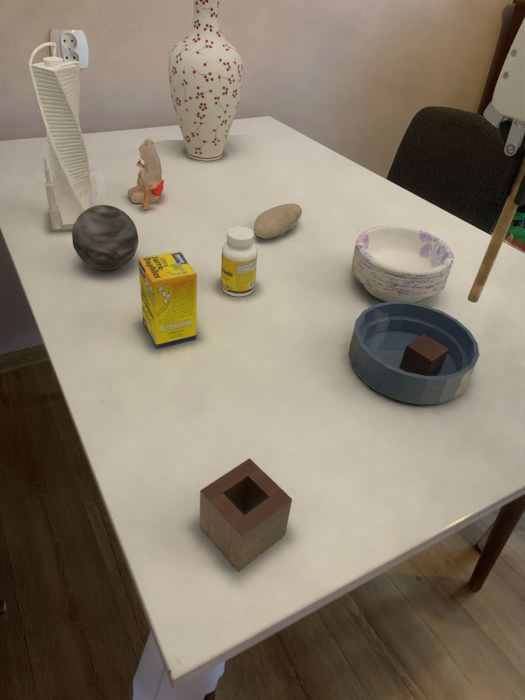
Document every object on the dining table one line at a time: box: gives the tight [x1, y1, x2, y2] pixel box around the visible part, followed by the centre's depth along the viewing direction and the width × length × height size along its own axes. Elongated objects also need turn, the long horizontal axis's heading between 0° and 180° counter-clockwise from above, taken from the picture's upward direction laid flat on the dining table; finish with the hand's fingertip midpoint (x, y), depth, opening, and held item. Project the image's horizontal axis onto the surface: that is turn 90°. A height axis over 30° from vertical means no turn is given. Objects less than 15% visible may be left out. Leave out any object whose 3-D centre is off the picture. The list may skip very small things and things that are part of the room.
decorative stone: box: [71, 204, 139, 271], centre depth 84 cm, size 10×10×10 cm
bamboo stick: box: [467, 156, 525, 304], centre depth 56 cm, size 1×1×18 cm
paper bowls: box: [351, 225, 455, 303], centre depth 86 cm, size 15×15×8 cm
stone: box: [253, 203, 303, 239], centre depth 99 cm, size 6×6×12 cm
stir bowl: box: [348, 301, 480, 405], centre depth 73 cm, size 16×16×5 cm
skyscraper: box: [28, 41, 93, 233], centre depth 89 cm, size 8×8×28 cm
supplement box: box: [137, 250, 198, 350], centre depth 72 cm, size 6×6×11 cm
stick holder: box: [199, 458, 293, 572], centre depth 51 cm, size 6×6×6 cm
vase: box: [167, 0, 244, 162], centre depth 116 cm, size 16×16×35 cm
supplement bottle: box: [220, 225, 258, 297], centre depth 82 cm, size 5×5×10 cm
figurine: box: [126, 138, 165, 211], centre depth 103 cm, size 9×7×12 cm
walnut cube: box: [399, 334, 449, 376], centre depth 72 cm, size 4×4×4 cm
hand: (514, 197), depth 54 cm, fingers closed on bamboo stick, 1 cm apart
